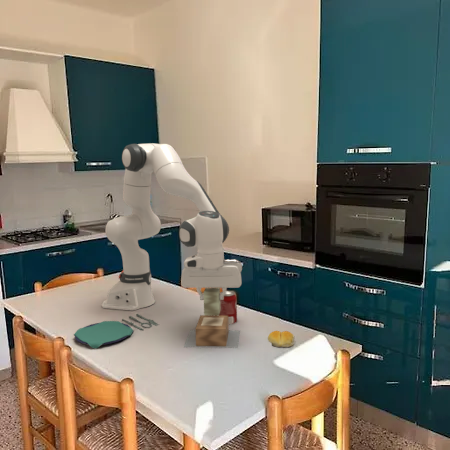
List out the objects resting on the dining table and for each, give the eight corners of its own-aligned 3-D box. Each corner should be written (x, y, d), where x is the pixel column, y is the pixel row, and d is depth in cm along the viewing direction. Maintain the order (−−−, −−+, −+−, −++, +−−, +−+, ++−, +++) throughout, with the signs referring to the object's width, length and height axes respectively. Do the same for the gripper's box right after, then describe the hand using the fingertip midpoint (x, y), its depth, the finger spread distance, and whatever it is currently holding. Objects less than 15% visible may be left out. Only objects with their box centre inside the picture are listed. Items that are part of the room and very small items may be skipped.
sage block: (204, 315, 146) (203, 292, 144) (206, 310, 150) (205, 287, 149) (219, 315, 145) (218, 292, 144) (220, 310, 150) (219, 287, 149)
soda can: (235, 327, 161) (234, 296, 159) (217, 326, 162) (216, 295, 160) (238, 320, 168) (237, 290, 166) (221, 319, 169) (220, 289, 167)
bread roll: (269, 337, 152) (269, 326, 152) (295, 339, 150) (295, 328, 150) (265, 347, 145) (265, 335, 144) (293, 349, 142) (293, 338, 142)
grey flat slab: (183, 349, 143) (183, 347, 143) (190, 332, 157) (190, 330, 157) (238, 350, 142) (238, 347, 142) (240, 333, 156) (240, 330, 156)
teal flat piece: (65, 337, 157) (64, 331, 156) (136, 315, 177) (136, 310, 177) (91, 355, 142) (91, 348, 142) (165, 329, 163) (165, 323, 163)
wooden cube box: (196, 345, 144) (195, 328, 143) (201, 331, 156) (200, 314, 155) (226, 346, 143) (225, 328, 142) (228, 331, 155) (228, 315, 154)
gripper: (242, 257, 147) (243, 296, 149) (182, 257, 149) (184, 296, 151) (241, 262, 141) (242, 302, 143) (179, 262, 143) (181, 302, 145)
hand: (212, 299), depth 147 cm, fingers closed on sage block, 5 cm apart
